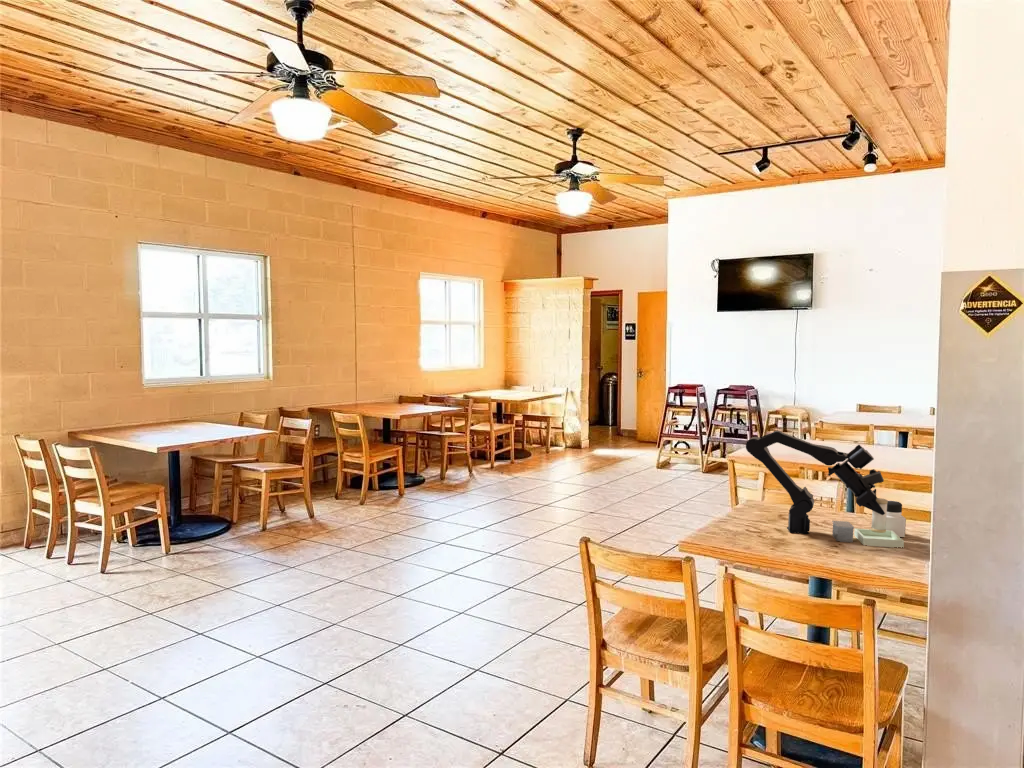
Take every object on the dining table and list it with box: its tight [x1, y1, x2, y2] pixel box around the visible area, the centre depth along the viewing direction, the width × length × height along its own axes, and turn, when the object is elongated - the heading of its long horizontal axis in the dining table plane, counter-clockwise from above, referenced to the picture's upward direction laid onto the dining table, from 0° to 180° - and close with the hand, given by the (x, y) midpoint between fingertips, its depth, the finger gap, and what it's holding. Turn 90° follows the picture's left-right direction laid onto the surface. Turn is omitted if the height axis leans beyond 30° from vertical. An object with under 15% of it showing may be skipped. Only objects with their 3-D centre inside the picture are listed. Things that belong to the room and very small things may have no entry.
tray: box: [853, 527, 905, 549], centre depth 246 cm, size 12×12×2 cm
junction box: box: [831, 520, 855, 544], centre depth 249 cm, size 5×9×5 cm, turn 168°
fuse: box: [870, 497, 889, 533], centre depth 245 cm, size 5×5×11 cm
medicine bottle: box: [886, 500, 907, 538], centre depth 254 cm, size 7×7×12 cm
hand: (883, 512), depth 245 cm, fingers closed on fuse, 4 cm apart
